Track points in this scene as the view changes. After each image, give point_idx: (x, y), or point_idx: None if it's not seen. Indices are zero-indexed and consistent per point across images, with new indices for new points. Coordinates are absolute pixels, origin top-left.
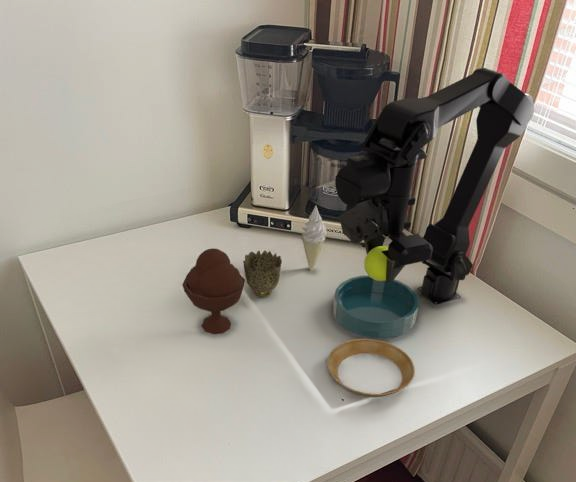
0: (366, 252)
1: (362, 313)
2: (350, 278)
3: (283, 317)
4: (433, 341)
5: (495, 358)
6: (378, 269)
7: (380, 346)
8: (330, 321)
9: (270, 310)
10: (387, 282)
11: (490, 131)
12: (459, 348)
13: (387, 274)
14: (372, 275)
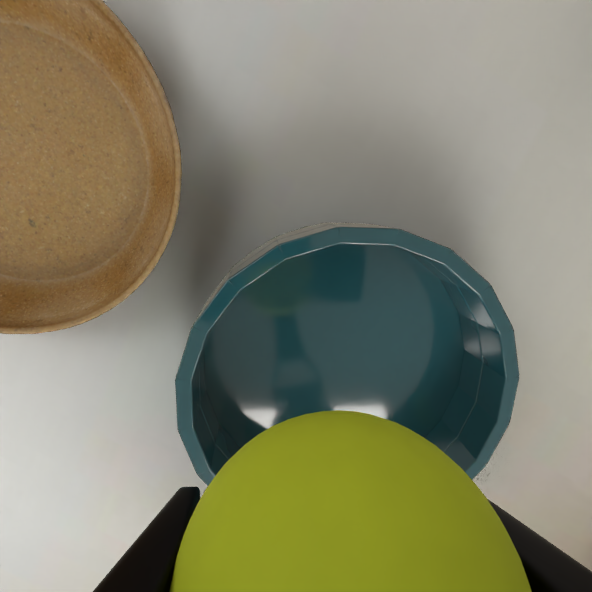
0: (564, 554)
1: (355, 331)
2: (517, 376)
3: (489, 46)
4: (139, 460)
5: (2, 569)
6: (216, 525)
7: (127, 277)
8: (378, 209)
9: (554, 19)
10: (178, 490)
11: None
12: (80, 508)
13: (144, 555)
14: (273, 430)
